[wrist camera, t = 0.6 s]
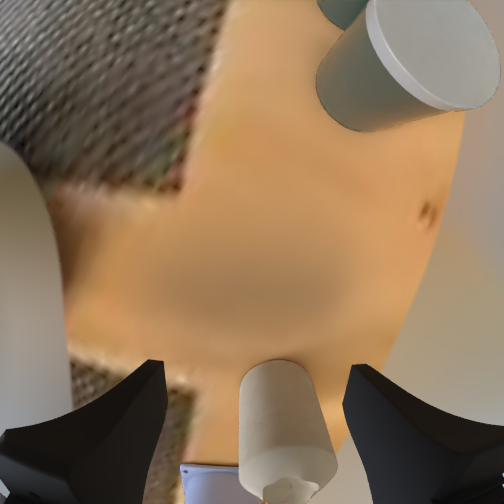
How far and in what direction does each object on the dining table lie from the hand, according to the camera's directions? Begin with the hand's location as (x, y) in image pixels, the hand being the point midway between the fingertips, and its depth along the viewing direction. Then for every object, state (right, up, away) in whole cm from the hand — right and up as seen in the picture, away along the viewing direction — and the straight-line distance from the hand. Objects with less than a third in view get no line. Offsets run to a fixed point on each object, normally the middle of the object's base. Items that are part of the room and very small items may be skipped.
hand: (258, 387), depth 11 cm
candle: (+2, -5, +11) cm, 13 cm away
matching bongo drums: (+7, +19, +5) cm, 21 cm away
